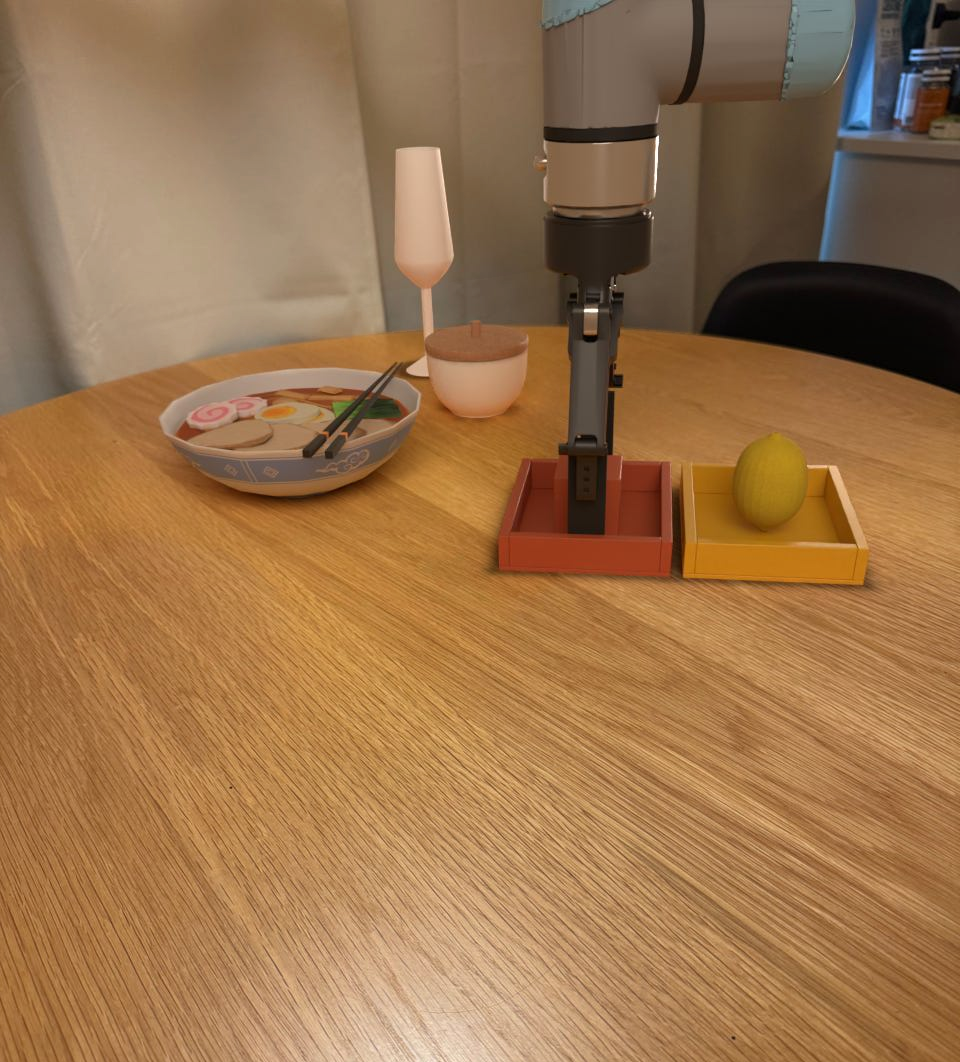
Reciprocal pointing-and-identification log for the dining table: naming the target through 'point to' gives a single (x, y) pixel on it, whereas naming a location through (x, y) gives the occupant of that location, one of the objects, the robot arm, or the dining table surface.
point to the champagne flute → (421, 228)
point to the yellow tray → (769, 532)
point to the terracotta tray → (541, 550)
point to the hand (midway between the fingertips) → (591, 499)
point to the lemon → (770, 481)
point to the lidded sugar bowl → (477, 367)
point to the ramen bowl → (293, 428)
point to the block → (611, 495)
